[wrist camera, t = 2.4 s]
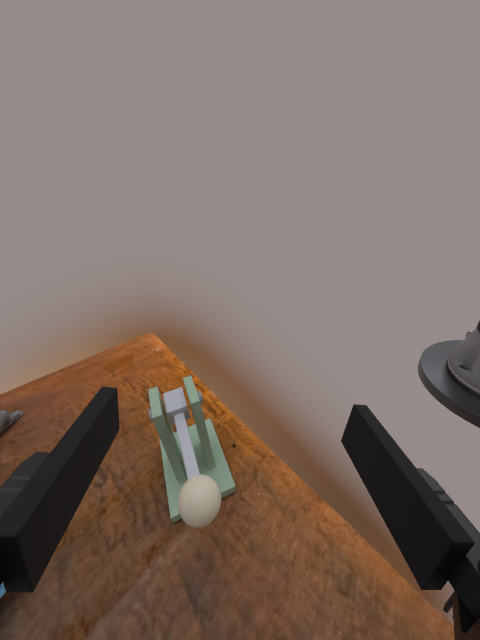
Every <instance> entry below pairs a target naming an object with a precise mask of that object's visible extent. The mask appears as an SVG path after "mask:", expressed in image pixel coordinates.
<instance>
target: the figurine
mask: <svg viewBox="0 0 480 640" xmlns="http://www.w3.org/2000/svg"><path fill="white" fill-rule="evenodd" d="M22 414H24V412H22V411H14V412H13V413H11V414H9V413H8V411H6V410H0V434H1V433H2V432H3V430H5V429H6V427H8V426H10V425H11V424H12V423H13V422H14V421H15V420H16V419H18V418H19V417H20V416H21V415H22Z"/></svg>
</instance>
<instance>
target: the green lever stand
mask: <svg viewBox="0 0 480 640" xmlns="http://www.w3.org/2000/svg"><path fill="white" fill-rule="evenodd" d="M183 381H184V384H185V388H186V392H187V395H188V399H189V402H190V406H191V410H192V413H193V417H194V421H195V425H192V426H190V427H188V430H189V434H190V438H191V441H192V445H193V449H194V453H195V456H196V460H197V464H198V468H199V471H200V474H203V475H207V476H210V477H211V478H213V479H214V480H215V481H216V483H217V484H218V486H219V488H220V492H221V499H222V498H224V497H226V496H228V495H230V494H232V493H234V492H236V486H235V483H234V480H233V478H232V475H231V472H230V470H229V467H228V464H227V462H226V459H225V456H224V454H223V451H222V448H221V445H220V443H219V440H218V437H217V435H216V432H215V429H214V427H213V424H212V421H211V419H207V420H204V416H203V412H202V407H201V403H203V402H204V401H203V397H202V394H201V392H200V391H198V392H197V391H196V388H195V386H194V383H193V380H192V377H191V375H190V376H187V377H184V378H183ZM149 397H150V405H151V409H149V410H148V413H149V417H150V420H151V422H154V424H155V427H156V429H157V432H158V434H159V437H160V445H161V452H162V460H163V467H164V474H165V481H166V489H167V496H168V503H169V510H170V518H171V520H172V522H173V523H174V522H176V521H178V520H180V519H182V518H181V516H180V514H179V510H178V497H179V493H180V491H181V488H182V487H183V485H184V484H185V482H186V481H187V480H188V478H187V474H186V469H185V465H184V460H183V456H182V451H181V447H180V442H179V438H178V434H177V432H175V433H174V432H173V429H172V427H171V424H170V421H169V418H168V415H167V412H166V410H165V407H164V404H163V401H162V398H161V395H160V393H159V390H158V387H155V388H152V389H149Z"/></svg>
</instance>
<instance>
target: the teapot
mask: <svg viewBox="0 0 480 640" xmlns="http://www.w3.org/2000/svg"><path fill="white" fill-rule="evenodd" d="M5 593H6V590H5V587H4V584H3V582H2V584H1V586H0V598H1V597H2V596H3V595H4V594H5Z"/></svg>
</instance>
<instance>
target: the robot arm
mask: <svg viewBox="0 0 480 640" xmlns="http://www.w3.org/2000/svg"><path fill="white" fill-rule="evenodd" d="M446 368H447V371H448V373H449V374H450V376H451V377H452V378H453V379H454V380H455V381H456V382H457V383H458V384H459V385H460V386H461V387H463V388H464V389H465V390H467V391H468V392H470V393H471V394H473V395H475V396H476V397H478V398H480V321H479V323H478V325H477V327H476V329H475V330H474V331H473V332H467V334H466V338H465V339H464V340H463V341H462V342H461V343H460V344H459V345H458V346H456V347H455V348H454V349H453V350H452V352H451V353H450V355H449V357H448V359H447V362H446ZM118 431H119V413H118V395H117V388H110V387H101V389H100V390H99V391H98V393H97V394H96V395H95V396H94V398H93V399H92V400H91V402H90V403H89V404H88V405H87V407H86V408H85V409H84V411H83V412H82V413H81V414H80V416H79V417H78V418H77V420H76V421H75V422H74V423H73V425H72V426H71V427H70V429H69V430H68V431H67V432H66V434H65V435H64V436H63V438H62V439H61V440H60V441H59V443H58V444H57V445H56V447H55V448H54V449H53V450H52V452H51V453H44V452H36V453H35V454H33V455H32V456H31V457H29V458H28V459H26V460H25V461H24V462H22V463H21V464H20V465H19V466H18V467H17V469H16V470H15V471H14V472H13V473H12V474H11V475H10V477H9V479H8V480H6V481H5V482H4V484H3V485H2V486H1V487H0V586H1V584H2V582H3V584H4V587H5V590H6V592H33V591H34V589H35V587H36V586H37V584H38V582H39V580H40V578H41V576H42V574H43V572H44V570H45V569H46V567H47V565H48V563H49V561H50V559H51V557H52V555H53V553H54V552H55V550H56V548H57V546H58V544H59V542H60V540H61V538H62V536H63V535H64V533H65V531H66V529H67V527H68V525H69V523H70V521H71V519H72V518H73V516H74V514H75V512H76V510H77V508H78V506H79V504H80V502H81V501H82V499H83V497H84V495H85V493H86V491H87V489H88V487H89V485H90V484H91V482H92V480H93V478H94V476H95V474H96V472H97V470H98V468H99V467H100V465H101V463H102V461H103V459H104V457H105V455H106V453H107V451H108V450H109V448H110V446H111V444H112V442H113V440H114V438H115V436H116V434H117V433H118ZM341 442H342V444H343V446H344V447H345V449H346V451H347V453H348V455H349V457H350V458H351V460H352V462H353V464H354V466H355V468H356V470H357V471H358V473H359V475H360V477H361V479H362V481H363V483H364V484H365V486H366V488H367V490H368V492H369V494H370V495H371V497H372V499H373V501H374V503H375V505H376V507H377V508H378V510H379V512H380V514H381V516H382V518H383V519H384V521H385V523H386V525H387V527H388V529H389V530H390V532H391V534H392V536H393V538H394V540H395V542H396V544H397V545H398V547H399V549H400V551H401V553H402V555H403V556H404V558H405V560H406V562H407V564H408V566H409V567H410V569H411V571H412V573H413V575H414V577H415V579H416V580H417V582H418V584H419V586H420V588H421V590H441V589H442V588H443V586H444V585H445V584H446V582H447V581H449V582H450V584H451V585H452V587H453V588H454V590H455V591H454V593H453V594H452V595H451V597H450V598H449V599H448V601H447V602H446V603H445V605H444V609H443V610H444V611H445V612H446V613H448V611H449V610H450V609H451V607H452V606H453V619H454V634H455V640H480V533H479V532H478V530H477V529H476V528H475V527H474V526H473V524H472V523H471V522H470V521H469V520H468V519H467V517H466V516H465V515H464V514H463V513H462V511H461V510H460V509H459V508H458V506H457V505H455V504H454V502H453V501H452V499H451V498H450V497H449V496H448V495H447V494H446V493H445V491H444V490H443V489H442V487H441V486H440V485H439V484H438V482H437V481H436V480H435V479H434V478H433V477H431V476H430V475H429V474H428V473H427V472H426V471H424V470H423V469H418V468H416V467H415V466H414V465H413V464H412V462H411V461H410V460H409V459H408V458H407V456H406V455H405V454H404V452H403V451H402V450H401V449H400V447H399V446H398V445H397V444H396V442H395V441H394V440H393V438H392V437H391V436H390V435H389V433H388V432H387V431H386V430H385V429H384V427H383V426H382V425H381V423H380V422H379V421H378V420H377V418H376V417H375V416H374V414H373V413H372V412H371V411H370V409H369V408H368V407H367V406H366V405H353V408H352V411H351V414H350V417H349V420H348V423H347V425H346V428H345V431H344V434H343V437H342V440H341Z"/></svg>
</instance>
